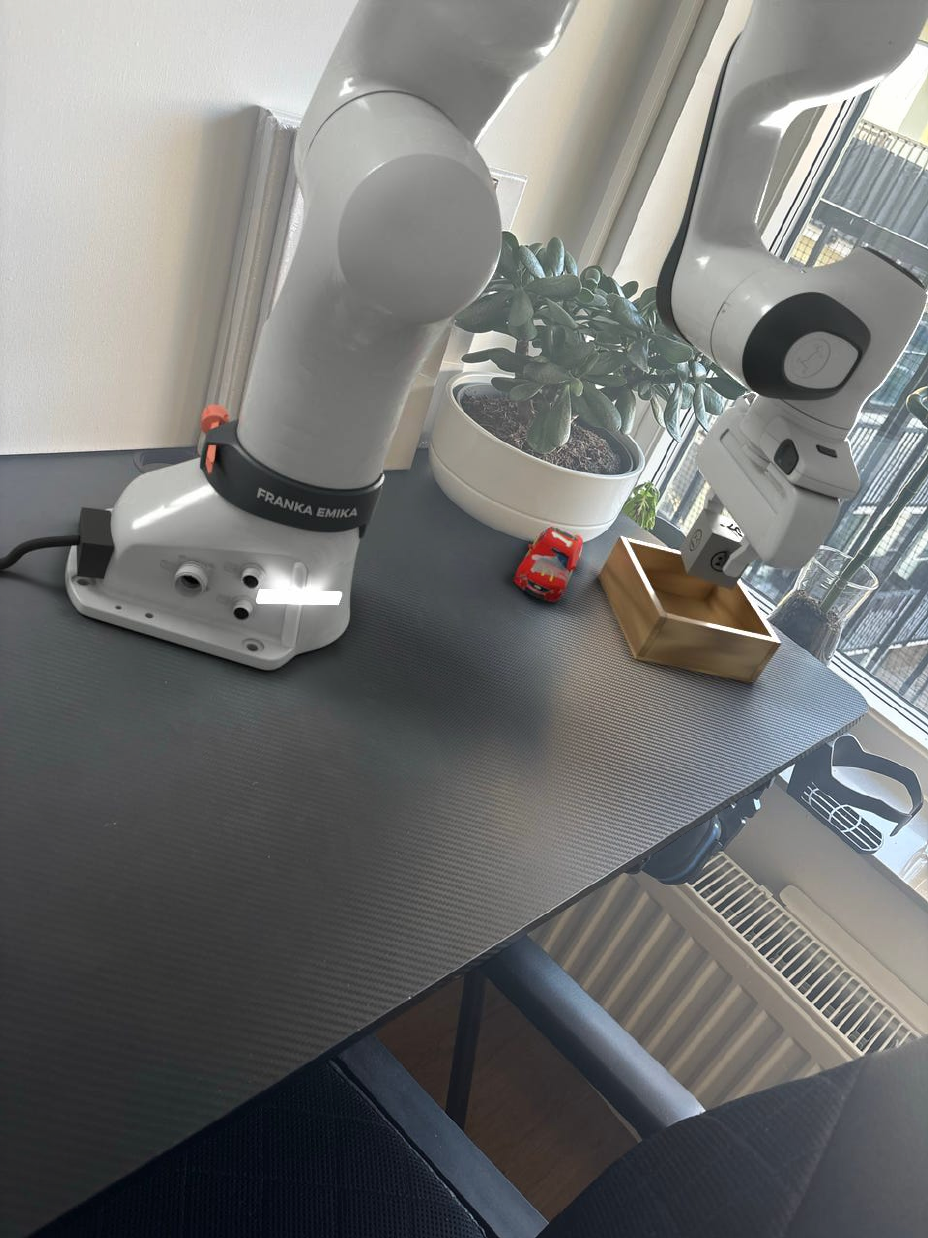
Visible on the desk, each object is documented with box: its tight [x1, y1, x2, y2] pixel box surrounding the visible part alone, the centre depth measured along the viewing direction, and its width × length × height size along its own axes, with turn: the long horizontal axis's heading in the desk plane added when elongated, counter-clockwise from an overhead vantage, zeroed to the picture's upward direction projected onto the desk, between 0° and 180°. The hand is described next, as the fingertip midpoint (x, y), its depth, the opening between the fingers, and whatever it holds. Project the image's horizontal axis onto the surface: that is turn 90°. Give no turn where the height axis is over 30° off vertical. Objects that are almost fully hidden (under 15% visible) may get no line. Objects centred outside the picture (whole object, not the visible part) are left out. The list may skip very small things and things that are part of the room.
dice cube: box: [678, 508, 751, 590], centre depth 94 cm, size 5×5×5 cm
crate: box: [597, 535, 783, 684], centre depth 98 cm, size 14×14×5 cm
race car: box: [513, 527, 584, 604], centre depth 98 cm, size 13×5×4 cm, turn 160°
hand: (715, 553), depth 94 cm, fingers closed on dice cube, 5 cm apart
